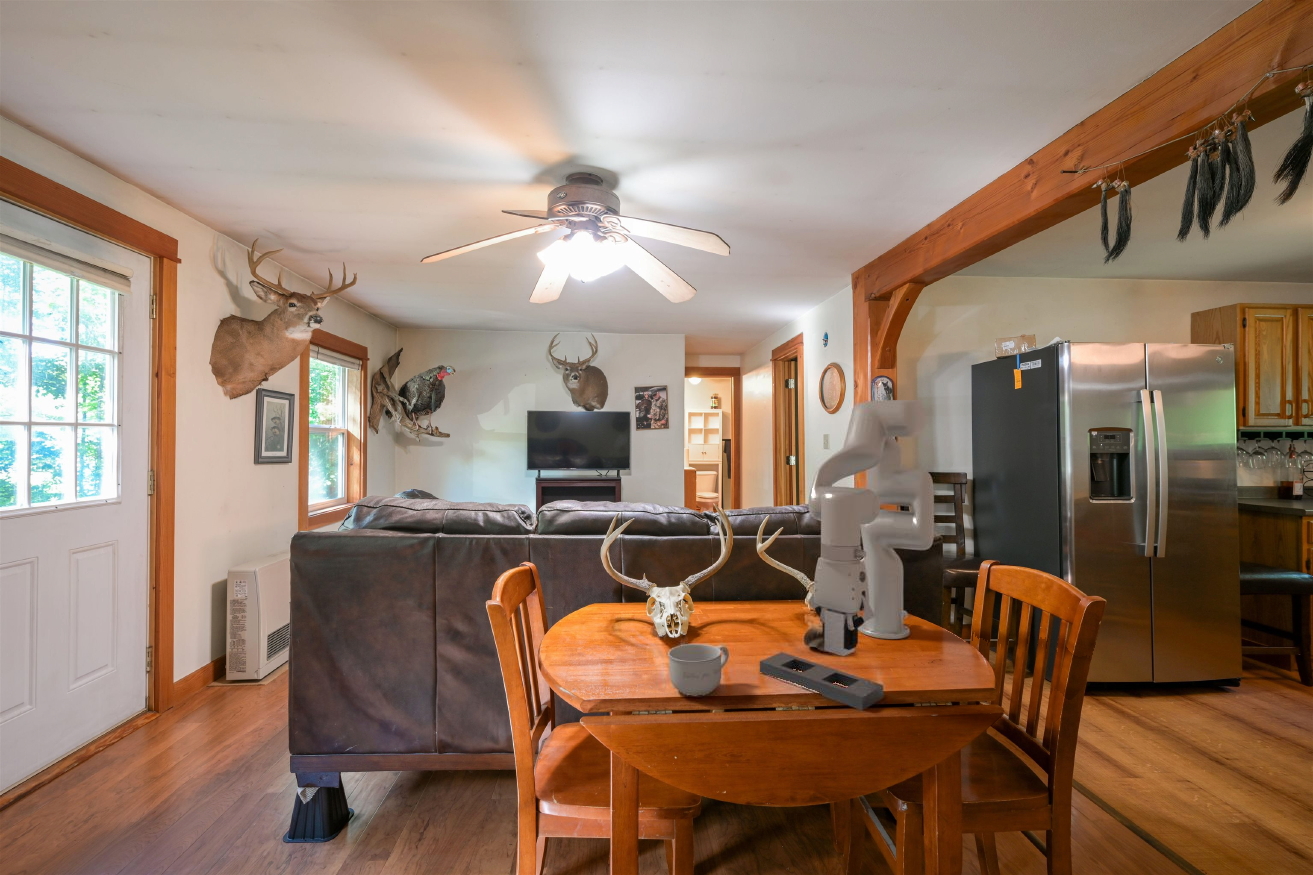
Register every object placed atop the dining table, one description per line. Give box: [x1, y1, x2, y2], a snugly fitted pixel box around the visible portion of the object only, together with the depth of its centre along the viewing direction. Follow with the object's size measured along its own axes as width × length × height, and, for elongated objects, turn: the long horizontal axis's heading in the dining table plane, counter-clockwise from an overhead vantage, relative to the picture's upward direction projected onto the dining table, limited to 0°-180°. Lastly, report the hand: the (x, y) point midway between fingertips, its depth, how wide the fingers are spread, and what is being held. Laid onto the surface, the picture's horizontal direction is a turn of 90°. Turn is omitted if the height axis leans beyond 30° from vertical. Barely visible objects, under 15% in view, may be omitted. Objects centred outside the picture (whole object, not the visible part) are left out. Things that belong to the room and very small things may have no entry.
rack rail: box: [759, 651, 884, 711], centre depth 125 cm, size 24×8×2 cm, turn 42°
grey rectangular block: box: [824, 609, 856, 657], centre depth 121 cm, size 4×4×9 cm
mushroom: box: [803, 625, 828, 653], centre depth 145 cm, size 8×8×6 cm
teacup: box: [667, 643, 730, 696], centre depth 123 cm, size 14×11×8 cm
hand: (839, 643), depth 121 cm, fingers closed on grey rectangular block, 4 cm apart
